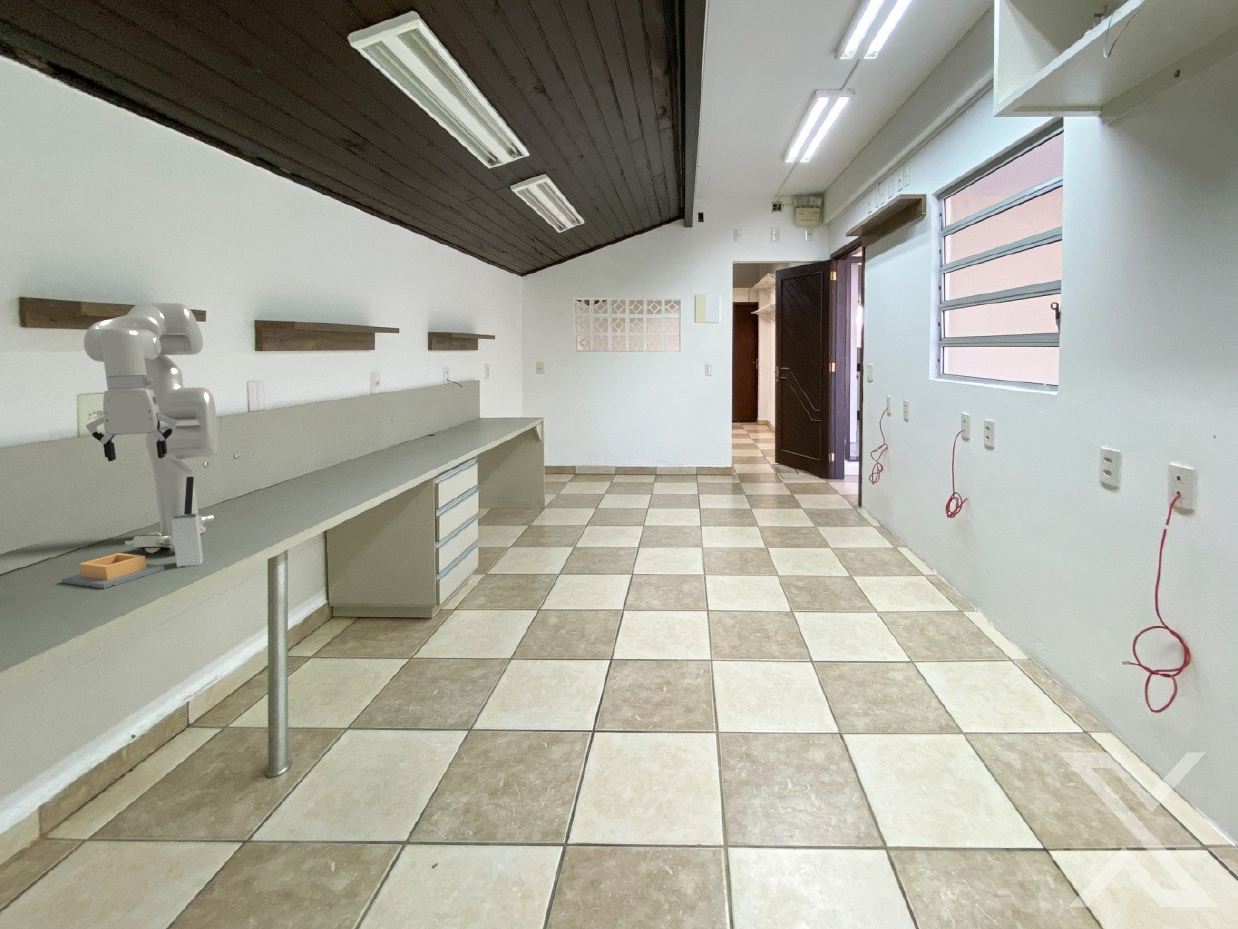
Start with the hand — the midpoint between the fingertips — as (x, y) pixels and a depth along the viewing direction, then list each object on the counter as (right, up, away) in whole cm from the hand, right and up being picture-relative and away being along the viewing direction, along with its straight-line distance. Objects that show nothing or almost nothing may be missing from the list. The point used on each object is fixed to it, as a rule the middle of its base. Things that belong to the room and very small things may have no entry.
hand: (137, 459), depth 156 cm
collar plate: (-8, -28, +4) cm, 29 cm away
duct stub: (+4, -26, +14) cm, 30 cm away
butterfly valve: (-11, -25, +24) cm, 36 cm away
